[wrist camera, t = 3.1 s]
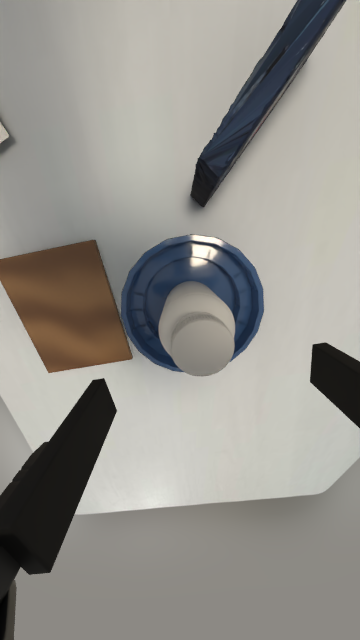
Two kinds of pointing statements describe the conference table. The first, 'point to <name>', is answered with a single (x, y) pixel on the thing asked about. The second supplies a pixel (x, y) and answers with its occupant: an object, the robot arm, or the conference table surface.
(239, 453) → the conference table surface
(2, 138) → the touchpad
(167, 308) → the pill bottle
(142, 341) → the bowl
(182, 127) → the conference table surface
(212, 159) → the vhs cassette tape
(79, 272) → the mat
